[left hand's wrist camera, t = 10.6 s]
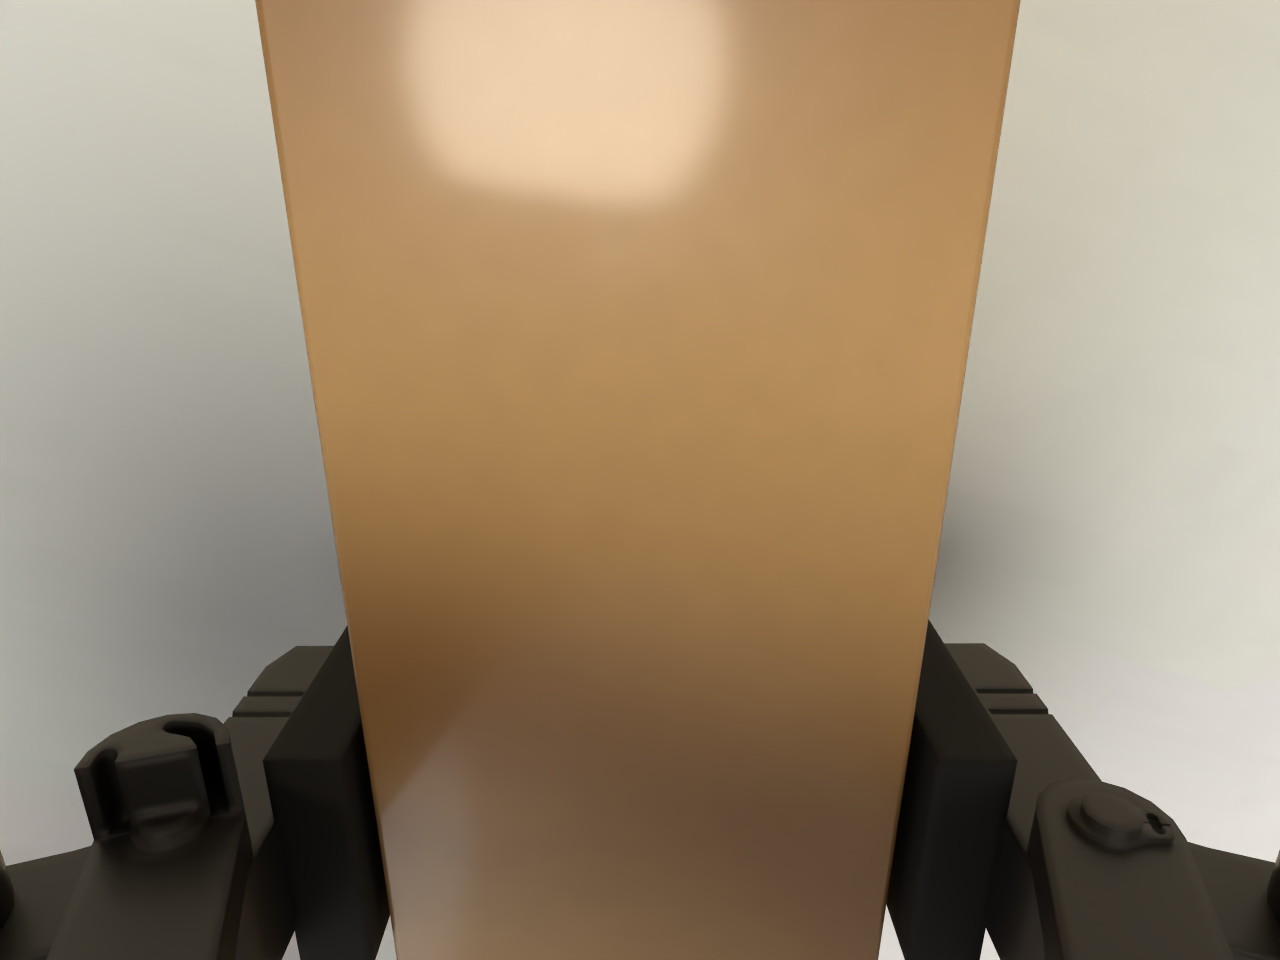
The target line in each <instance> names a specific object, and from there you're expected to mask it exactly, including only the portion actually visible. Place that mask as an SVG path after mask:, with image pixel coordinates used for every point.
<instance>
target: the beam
mask: <svg viewBox="0 0 1280 960" xmlns="http://www.w3.org/2000/svg"><path fill="white" fill-rule="evenodd" d="M255 1H256V8H257V15H258V21H259V28H260V35H261V42H262V49H263V55H264V62H265V69H266V76H267V82H268V89H269V96H270V103H271V110H272V116H273V123H274V130H275V137H276V143H277V150H278V157H279V164H280V171H281V177H282V184H283V191H284V198H285V204H286V211H287V218H288V225H289V232H290V238H291V245H292V252H293V259H294V265H295V272H296V279H297V286H298V293H299V299H300V306H301V313H302V320H303V326H304V333H305V340H306V347H307V354H308V360H309V367H310V374H311V381H312V387H313V394H314V401H315V408H316V415H317V421H318V428H319V435H320V442H321V448H322V455H323V462H324V469H325V476H326V482H327V489H328V496H329V503H330V509H331V516H332V523H333V530H334V537H335V543H336V550H337V557H338V564H339V570H340V577H341V584H342V591H343V598H344V604H345V611H346V618H347V625H348V631H349V638H350V645H351V652H352V659H353V665H354V672H355V679H356V686H357V692H358V699H359V706H360V713H361V720H362V726H363V733H364V740H365V747H366V754H367V760H368V767H369V774H370V781H371V787H372V794H373V801H374V808H375V815H376V821H377V828H378V835H379V842H380V848H381V855H382V862H383V869H384V876H385V882H386V889H387V896H388V903H389V909H390V916H391V923H392V930H393V937H394V943H395V950H396V957H397V960H878V956H879V949H880V942H881V936H882V929H883V922H884V915H885V909H886V902H887V895H888V888H889V882H890V875H891V868H892V861H893V855H894V848H895V841H896V835H897V828H898V821H899V814H900V808H901V801H902V794H903V787H904V781H905V774H906V767H907V760H908V754H909V747H910V740H911V734H912V727H913V720H914V713H915V707H916V700H917V693H918V686H919V680H920V673H921V666H922V659H923V653H924V646H925V639H926V632H927V626H928V619H929V612H930V606H931V599H932V592H933V585H934V579H935V572H936V565H937V558H938V552H939V545H940V538H941V531H942V525H943V518H944V511H945V505H946V498H947V491H948V484H949V478H950V471H951V464H952V457H953V451H954V444H955V437H956V430H957V424H958V417H959V410H960V403H961V397H962V390H963V383H964V377H965V370H966V363H967V356H968V350H969V343H970V336H971V329H972V323H973V316H974V309H975V302H976V296H977V289H978V282H979V275H980V269H981V262H982V255H983V249H984V242H985V235H986V228H987V222H988V215H989V208H990V201H991V195H992V188H993V181H994V174H995V168H996V161H997V154H998V148H999V141H1000V134H1001V127H1002V121H1003V114H1004V107H1005V100H1006V94H1007V87H1008V80H1009V73H1010V67H1011V60H1012V53H1013V46H1014V40H1015V33H1016V26H1017V20H1018V13H1019V6H1020V0H255Z"/></svg>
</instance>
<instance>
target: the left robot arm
mask: <svg viewBox="0 0 1280 960" xmlns="http://www.w3.org/2000/svg"><path fill="white" fill-rule="evenodd" d="M74 772H75V775H76V778H77V782H78V785H79V789H80V792H81V796H82V799H83V803H84V806H85V810H86V813H87V817H88V820H89V824H90V827H91V831H92V834H93V837H94V842H93V844H92V846H89V847H85V848H82V849H79V850H75V851H71V852H67V853H62V854H58V855H54V856H49V857H45V858H40V859H36V860H31V861H27V862H23V863H18V864H14V865H9V866H5V863H4V860H3V857H2V854H1V851H0V960H282V958H283V955H284V953H285V951H286V949H287V946H288V944H289V942H290V940H291V937H292V935H293V933H294V931H295V934H296V939H297V944H298V949H299V954H300V960H375V959H376V956H377V952H378V949H379V946H380V943H381V940H382V937H383V934H384V931H385V928H386V925H387V922H388V919H389V916H390V909H389V903H388V896H387V889H386V882H385V876H384V869H383V862H382V855H381V848H380V842H379V835H378V828H377V821H376V815H375V808H374V801H373V794H372V787H371V781H370V774H369V767H368V760H367V754H366V747H365V740H364V733H363V726H362V720H361V713H360V706H359V699H358V692H357V686H356V679H355V672H354V665H353V659H352V652H351V645H350V638H349V631H348V626H347V627H346V629H345V630H344V632H343V633H342V635H341V637H340V638H339V640H338V641H337V643H336V645H335V646H296V647H294V648H293V649H292V650H290V651H289V652H287V653H286V654H284V655H283V656H281V657H280V658H278V659H277V660H276V661H274V662H273V663H271V664H270V665H268V666H267V667H266V668H265V669H264V670H263V672H262V673H261V674H260V676H259V677H258V678H257V680H256V681H255V682H254V684H253V685H252V686H251V688H250V689H249V691H248V695H247V697H243V699H242V700H241V701H240V703H239V704H238V705H237V707H236V708H235V709H234V711H233V715H232V717H229V718H228V719H227V720H226V722H225V723H224V724H223V723H221V722H220V721H219V720H218V719H217V718H214V717H210V716H205V715H201V714H196V713H190V714H173V715H165V716H161V717H158V718H154V719H150V720H146V721H142V722H138V723H136V724H134V725H132V726H130V727H127V728H125V729H123V730H121V731H118V732H116V733H114V734H112V735H110V736H109V737H107V738H106V739H105V740H103V741H102V742H100V743H99V744H98V745H96V746H95V747H93V748H92V749H91V750H89V751H88V752H87V753H86V755H85V756H84V757H83V758H82V760H81V761H80V762H79V763H78V765H77V766H76V767H75V769H74ZM886 904H887V907H888V910H889V913H890V916H891V919H892V922H893V925H894V928H895V931H896V934H897V937H898V940H899V943H900V946H901V949H902V952H903V955H904V958H905V960H980V955H981V949H982V944H983V939H984V934H985V929H987V931H988V933H989V935H990V938H991V940H992V942H993V944H994V947H995V949H996V951H997V953H998V955H999V958H1000V960H1280V851H1279V854H1278V857H1277V860H1276V863H1274V862H1269V861H1265V860H1260V859H1256V858H1251V857H1247V856H1243V855H1238V854H1234V853H1229V852H1225V851H1220V850H1216V849H1211V848H1207V847H1204V846H1200V845H1197V844H1193V843H1190V842H1187V840H1186V838H1185V837H1184V835H1183V834H1182V832H1181V831H1180V829H1179V828H1178V826H1177V825H1176V823H1175V822H1174V820H1173V819H1172V818H1171V817H1169V816H1168V815H1167V814H1166V813H1164V812H1163V811H1162V810H1161V809H1159V808H1158V807H1157V806H1156V805H1155V804H1153V803H1152V802H1151V801H1149V800H1147V799H1145V798H1143V797H1141V796H1139V795H1137V794H1135V793H1133V792H1131V791H1129V790H1127V789H1125V788H1122V787H1119V786H1115V785H1112V784H1108V783H1105V782H1102V781H1101V780H1100V778H1099V777H1098V776H1097V774H1096V773H1095V772H1094V770H1093V769H1092V768H1091V766H1090V765H1089V764H1088V762H1087V761H1086V760H1085V758H1084V757H1083V756H1082V754H1081V753H1080V751H1079V750H1078V749H1077V747H1076V746H1075V745H1074V743H1073V742H1072V741H1071V739H1070V738H1069V737H1068V735H1067V734H1066V733H1065V731H1064V730H1063V729H1062V727H1061V726H1060V725H1059V723H1058V722H1057V721H1056V719H1055V718H1054V717H1053V715H1052V714H1048V708H1047V707H1046V706H1045V704H1044V703H1043V702H1042V700H1041V699H1040V698H1039V696H1038V695H1037V694H1033V688H1032V687H1031V686H1030V684H1029V683H1028V682H1027V680H1026V679H1025V678H1024V676H1023V675H1022V674H1021V672H1020V671H1019V670H1018V668H1017V667H1016V665H1015V664H1013V663H1012V662H1010V661H1009V660H1007V659H1006V658H1005V657H1003V656H1002V655H1000V654H999V653H997V652H996V651H994V650H993V649H991V648H990V647H988V646H987V645H985V644H944V643H943V641H942V640H941V638H940V637H939V635H938V633H937V632H936V630H935V629H934V627H933V625H932V624H931V622H930V621H929V619H928V626H927V632H926V639H925V646H924V653H923V659H922V666H921V673H920V680H919V686H918V693H917V700H916V707H915V713H914V720H913V727H912V734H911V740H910V747H909V754H908V760H907V767H906V774H905V781H904V787H903V794H902V801H901V808H900V814H899V821H898V828H897V835H896V841H895V848H894V855H893V861H892V868H891V875H890V882H889V888H888V895H887V902H886Z"/></svg>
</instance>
